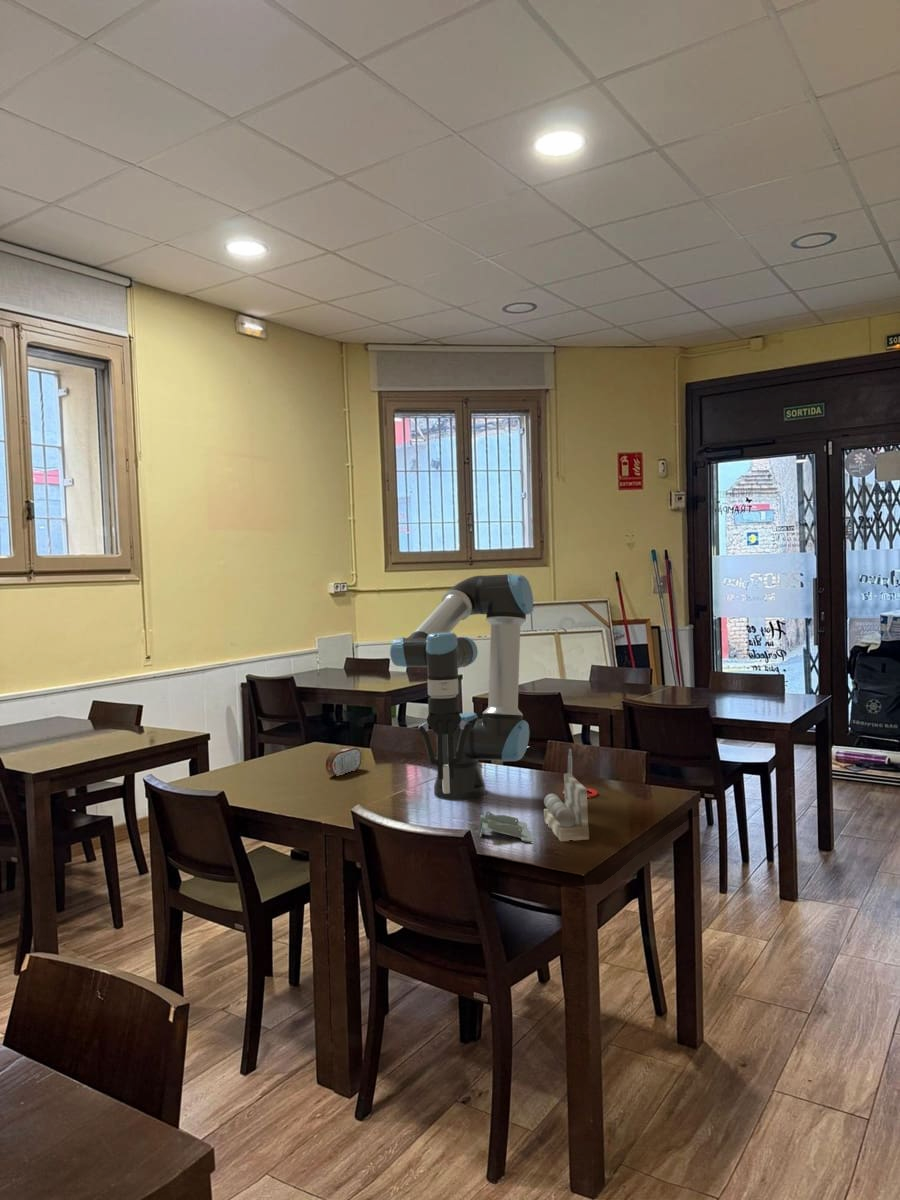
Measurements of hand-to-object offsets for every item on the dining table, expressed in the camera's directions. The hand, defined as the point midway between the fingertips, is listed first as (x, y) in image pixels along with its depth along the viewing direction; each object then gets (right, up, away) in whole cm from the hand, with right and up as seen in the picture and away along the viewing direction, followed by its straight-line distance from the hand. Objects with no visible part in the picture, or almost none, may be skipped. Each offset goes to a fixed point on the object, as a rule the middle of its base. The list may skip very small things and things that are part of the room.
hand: (446, 792), depth 201 cm
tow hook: (+39, -9, +35) cm, 53 cm away
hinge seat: (+30, -10, +4) cm, 32 cm away
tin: (-34, -11, +70) cm, 79 cm away
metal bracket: (+15, -12, +2) cm, 19 cm away
